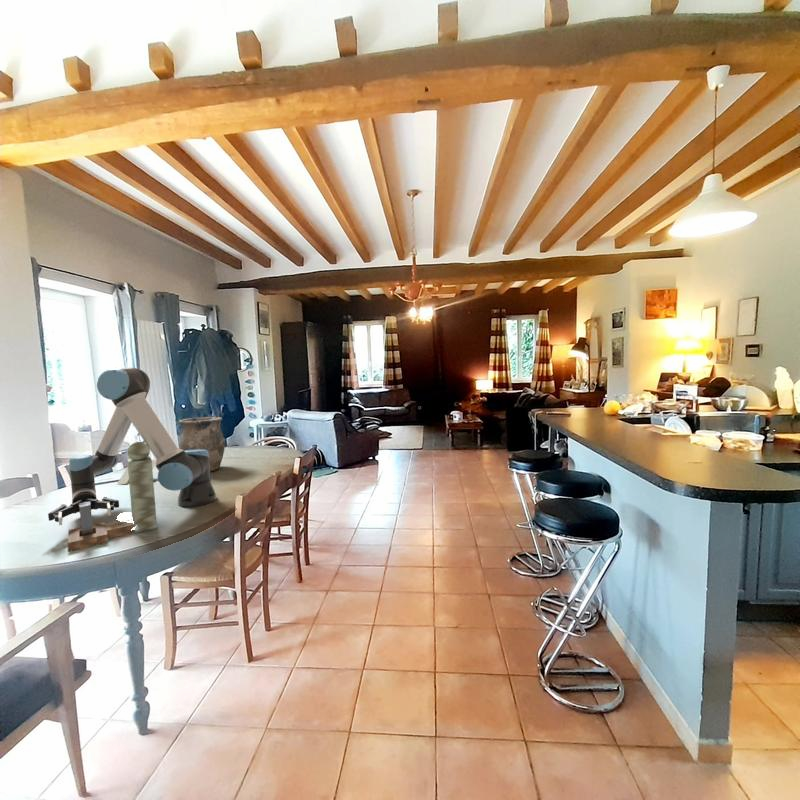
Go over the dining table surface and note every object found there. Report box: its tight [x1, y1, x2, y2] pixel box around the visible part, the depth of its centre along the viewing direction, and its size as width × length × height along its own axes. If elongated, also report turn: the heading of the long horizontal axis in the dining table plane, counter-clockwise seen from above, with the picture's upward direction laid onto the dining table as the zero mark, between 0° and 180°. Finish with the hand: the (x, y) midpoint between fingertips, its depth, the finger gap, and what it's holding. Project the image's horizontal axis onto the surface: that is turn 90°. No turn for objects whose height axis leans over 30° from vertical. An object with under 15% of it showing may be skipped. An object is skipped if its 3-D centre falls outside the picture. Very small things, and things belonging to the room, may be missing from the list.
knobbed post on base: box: [67, 441, 158, 553], centre depth 147 cm, size 26×14×32 cm, turn 128°
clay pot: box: [178, 416, 226, 473], centre depth 234 cm, size 22×23×30 cm
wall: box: [115, 459, 157, 486], centre depth 218 cm, size 16×9×15 cm
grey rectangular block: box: [79, 502, 93, 536], centre depth 144 cm, size 3×5×13 cm, turn 38°
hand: (85, 516), depth 142 cm, fingers open, 13 cm apart
